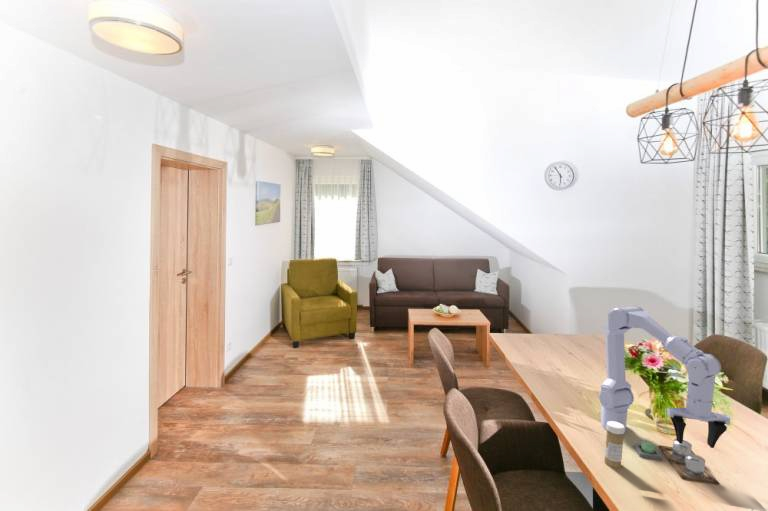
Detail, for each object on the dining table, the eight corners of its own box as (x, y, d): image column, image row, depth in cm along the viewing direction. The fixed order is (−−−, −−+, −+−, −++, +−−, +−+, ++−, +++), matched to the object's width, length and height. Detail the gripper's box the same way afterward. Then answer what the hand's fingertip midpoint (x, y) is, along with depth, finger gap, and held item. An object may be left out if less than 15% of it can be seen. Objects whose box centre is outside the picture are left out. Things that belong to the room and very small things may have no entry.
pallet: (658, 451, 131) (658, 445, 131) (690, 456, 128) (691, 449, 128) (681, 483, 115) (681, 476, 115) (718, 489, 113) (719, 483, 112)
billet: (685, 480, 116) (687, 460, 116) (681, 471, 120) (683, 451, 120) (705, 485, 115) (707, 464, 114) (700, 475, 119) (702, 456, 118)
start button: (639, 448, 129) (640, 439, 129) (651, 450, 128) (652, 441, 128) (643, 455, 126) (643, 445, 125) (655, 456, 125) (656, 447, 125)
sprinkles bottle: (605, 462, 124) (608, 418, 123) (622, 468, 121) (626, 424, 120) (601, 468, 121) (605, 424, 120) (619, 475, 118) (623, 429, 117)
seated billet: (669, 456, 128) (670, 437, 127) (685, 458, 127) (687, 440, 126) (675, 464, 124) (677, 445, 123) (692, 467, 123) (694, 448, 122)
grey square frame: (632, 450, 131) (633, 443, 130) (654, 453, 129) (655, 446, 129) (639, 461, 125) (639, 453, 125) (661, 464, 123) (662, 456, 123)
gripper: (676, 400, 114) (671, 447, 115) (738, 407, 110) (732, 456, 111) (665, 389, 121) (661, 434, 122) (724, 396, 117) (719, 442, 118)
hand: (694, 443), depth 117 cm, fingers open, 7 cm apart
